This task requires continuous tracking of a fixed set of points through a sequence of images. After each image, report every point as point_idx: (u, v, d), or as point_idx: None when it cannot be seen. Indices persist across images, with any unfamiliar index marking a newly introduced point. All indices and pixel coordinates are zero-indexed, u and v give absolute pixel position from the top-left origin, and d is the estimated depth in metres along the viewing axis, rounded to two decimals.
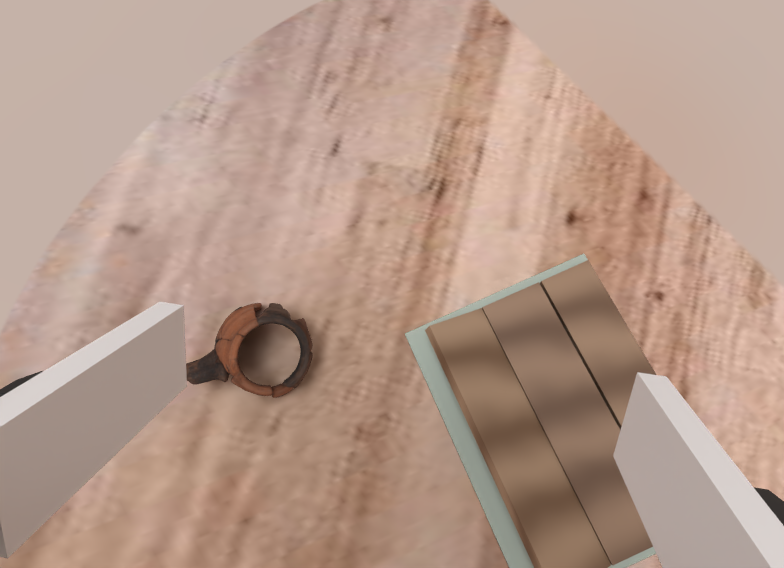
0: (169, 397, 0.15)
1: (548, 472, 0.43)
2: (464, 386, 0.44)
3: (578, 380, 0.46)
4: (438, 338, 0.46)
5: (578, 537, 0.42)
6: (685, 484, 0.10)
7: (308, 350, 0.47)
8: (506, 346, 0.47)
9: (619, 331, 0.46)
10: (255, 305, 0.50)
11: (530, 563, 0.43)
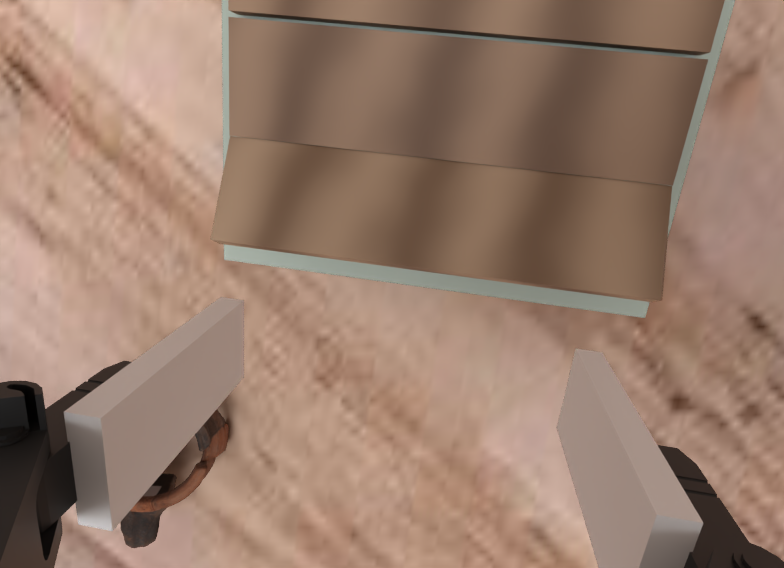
0: (230, 387, 0.15)
1: (504, 194, 0.27)
2: (320, 243, 0.27)
3: (409, 58, 0.26)
4: (235, 237, 0.28)
5: (608, 211, 0.26)
6: (602, 443, 0.11)
7: None
8: (304, 137, 0.28)
9: None
10: None
11: None
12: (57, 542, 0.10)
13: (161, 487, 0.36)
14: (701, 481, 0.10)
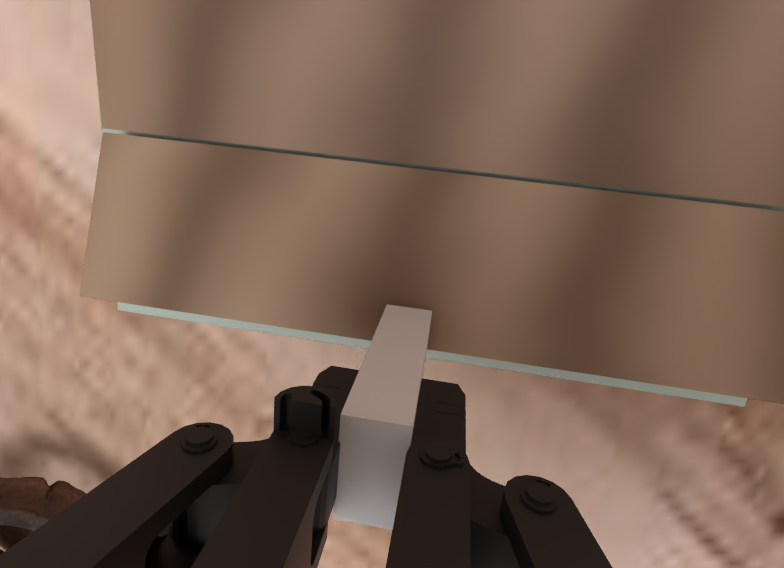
0: None
1: (533, 227, 0.17)
2: (245, 303, 0.18)
3: None
4: (116, 293, 0.18)
5: (703, 256, 0.16)
6: None
7: (22, 513, 0.22)
8: (215, 131, 0.18)
9: None
10: None
11: None
12: (321, 547, 0.10)
13: None
14: (459, 407, 0.12)
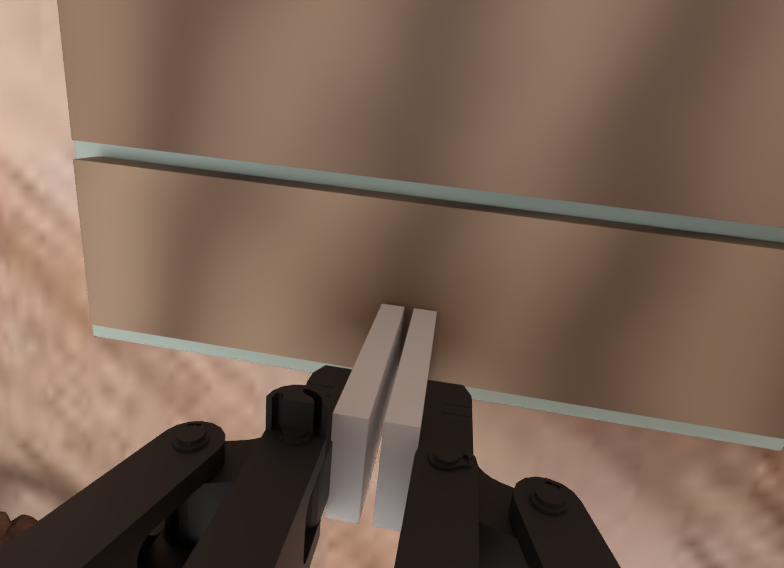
0: None
1: (543, 268, 0.15)
2: (251, 335, 0.18)
3: None
4: (125, 323, 0.18)
5: (727, 301, 0.15)
6: None
7: None
8: (196, 144, 0.16)
9: None
10: None
11: None
12: (314, 546, 0.10)
13: None
14: (466, 408, 0.12)
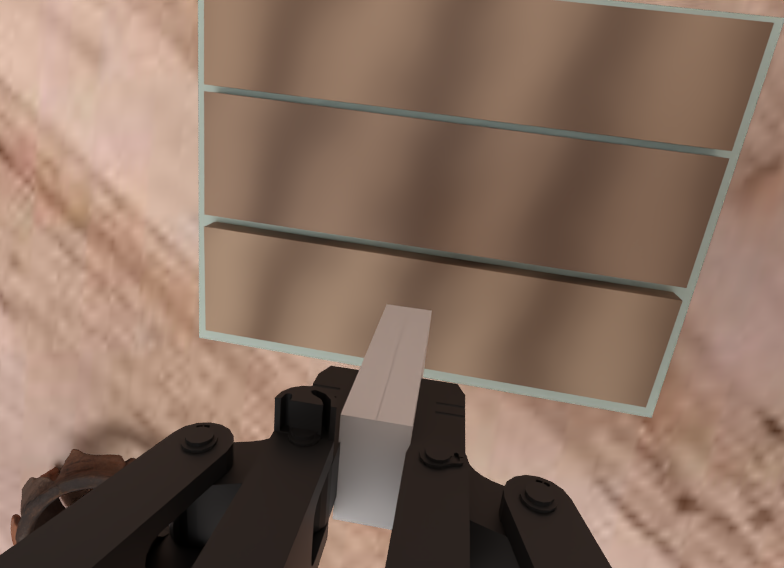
0: None
1: (498, 301, 0.25)
2: (312, 338, 0.27)
3: (400, 143, 0.23)
4: (228, 329, 0.28)
5: (607, 323, 0.25)
6: None
7: None
8: (285, 220, 0.25)
9: (362, 3, 0.22)
10: None
11: None
12: (322, 547, 0.10)
13: None
14: (459, 406, 0.12)
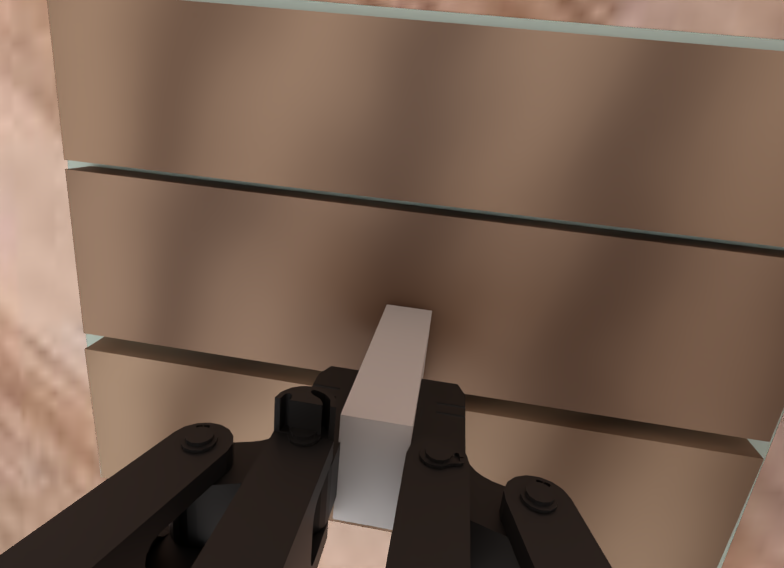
0: None
1: (496, 452, 0.18)
2: None
3: (348, 241, 0.16)
4: None
5: (653, 484, 0.17)
6: None
7: None
8: (193, 342, 0.18)
9: (280, 43, 0.15)
10: None
11: None
12: (322, 548, 0.10)
13: None
14: (459, 406, 0.12)
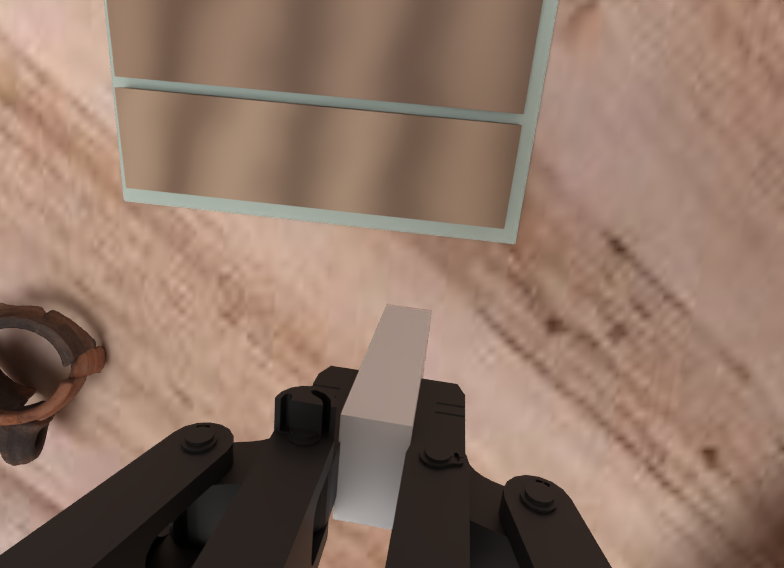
0: None
1: (371, 138, 0.29)
2: (219, 188, 0.31)
3: None
4: (146, 185, 0.32)
5: (463, 151, 0.29)
6: None
7: (29, 320, 0.33)
8: (184, 76, 0.29)
9: None
10: None
11: None
12: (322, 547, 0.10)
13: None
14: (459, 407, 0.12)
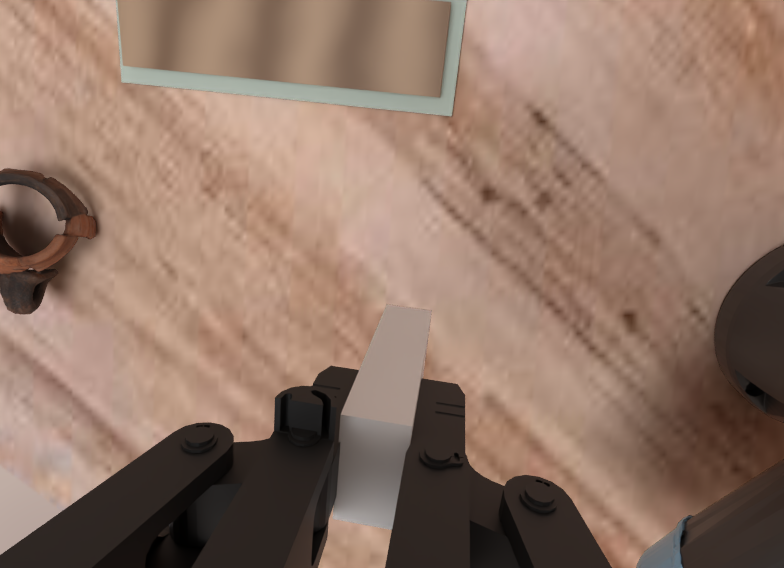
0: None
1: (326, 16, 0.35)
2: (200, 64, 0.37)
3: None
4: (139, 63, 0.38)
5: (403, 26, 0.34)
6: None
7: (30, 178, 0.39)
8: None
9: None
10: None
11: None
12: (322, 547, 0.10)
13: (41, 272, 0.44)
14: (459, 407, 0.12)
